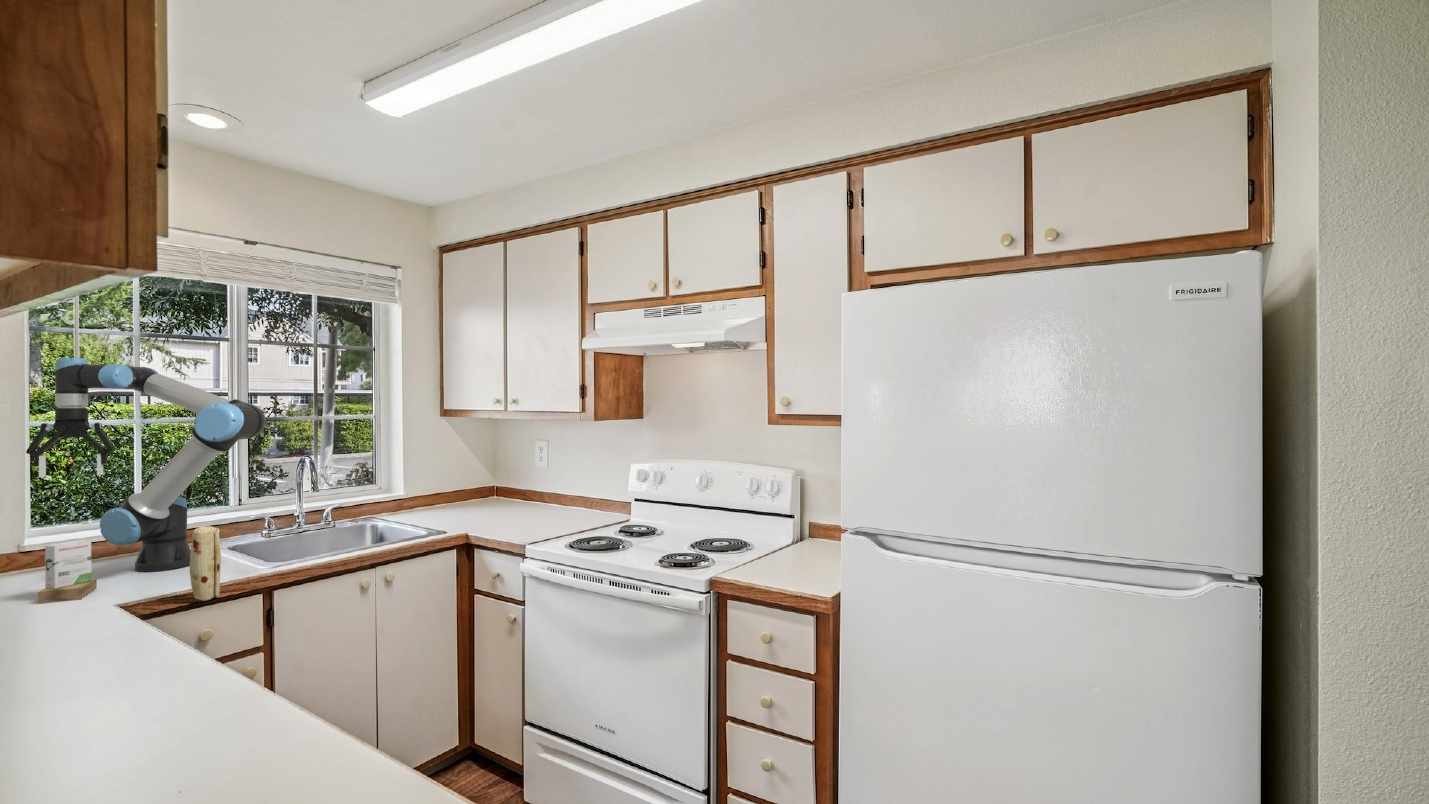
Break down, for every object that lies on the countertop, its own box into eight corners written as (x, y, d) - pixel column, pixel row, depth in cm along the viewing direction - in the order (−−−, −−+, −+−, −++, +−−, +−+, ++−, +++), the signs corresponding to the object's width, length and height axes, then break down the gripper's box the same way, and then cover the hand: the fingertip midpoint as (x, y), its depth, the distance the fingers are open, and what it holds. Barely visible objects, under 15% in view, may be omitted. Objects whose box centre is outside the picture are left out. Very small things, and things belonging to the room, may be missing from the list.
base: (96, 589, 198) (96, 577, 198) (81, 599, 187) (81, 587, 187) (55, 593, 194) (55, 581, 194) (37, 603, 183) (37, 591, 183)
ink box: (82, 580, 195) (82, 538, 195) (92, 581, 194) (92, 540, 194) (43, 587, 187) (43, 544, 187) (54, 589, 185) (54, 545, 186)
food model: (195, 596, 189) (195, 524, 189) (224, 593, 192) (224, 522, 192) (185, 605, 180) (185, 530, 180) (216, 602, 183) (216, 528, 183)
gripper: (127, 407, 221) (126, 472, 220) (22, 407, 209) (22, 476, 209) (119, 407, 214) (119, 474, 214) (11, 407, 202) (11, 479, 202)
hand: (71, 475), depth 211 cm, fingers open, 13 cm apart
